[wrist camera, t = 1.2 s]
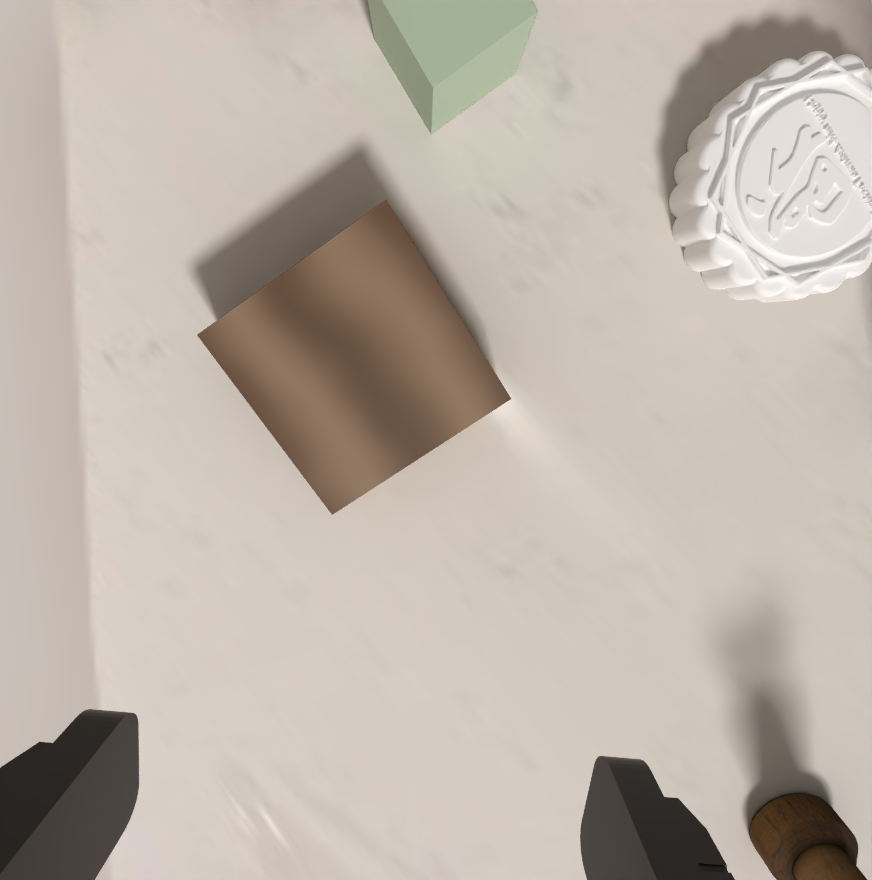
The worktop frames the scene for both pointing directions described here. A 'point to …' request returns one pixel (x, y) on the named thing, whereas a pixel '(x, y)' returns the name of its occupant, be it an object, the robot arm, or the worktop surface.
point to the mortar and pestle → (805, 840)
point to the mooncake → (781, 182)
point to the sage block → (451, 49)
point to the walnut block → (356, 360)
